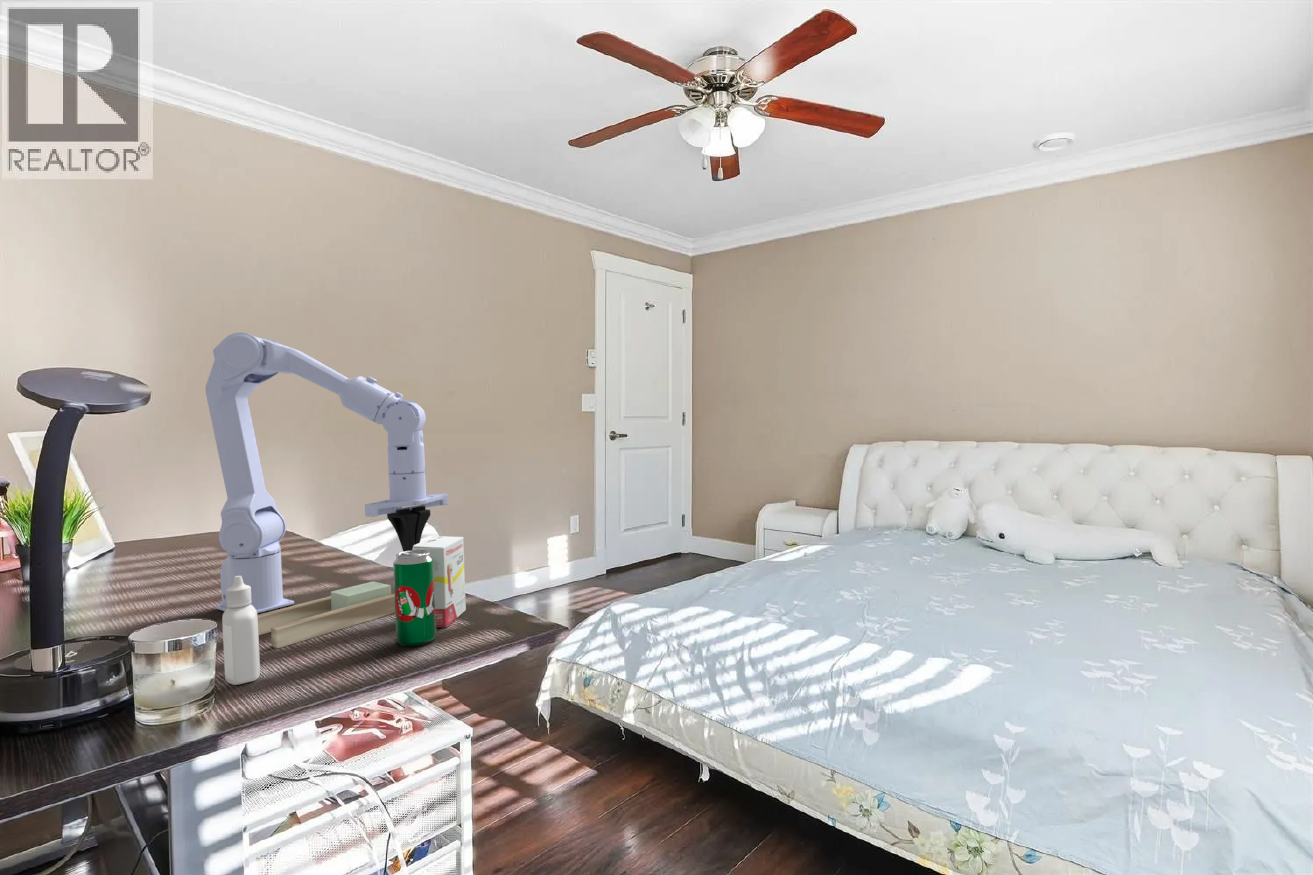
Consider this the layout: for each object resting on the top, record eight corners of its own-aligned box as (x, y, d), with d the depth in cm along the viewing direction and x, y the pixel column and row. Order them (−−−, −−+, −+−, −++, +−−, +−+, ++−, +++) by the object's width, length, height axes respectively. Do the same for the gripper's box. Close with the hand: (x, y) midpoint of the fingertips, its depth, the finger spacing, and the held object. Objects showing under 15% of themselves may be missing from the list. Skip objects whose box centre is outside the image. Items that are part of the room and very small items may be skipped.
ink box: (446, 628, 91) (443, 546, 90) (413, 628, 91) (409, 546, 91) (467, 610, 99) (465, 535, 99) (436, 610, 100) (433, 535, 99)
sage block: (331, 617, 98) (330, 591, 98) (374, 605, 104) (373, 581, 104) (349, 622, 95) (347, 596, 95) (391, 610, 101) (390, 585, 101)
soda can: (426, 632, 89) (423, 547, 89) (443, 640, 86) (439, 552, 85) (390, 641, 86) (386, 553, 85) (406, 651, 82) (402, 559, 82)
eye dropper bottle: (210, 688, 72) (204, 583, 72) (233, 669, 78) (229, 572, 77) (252, 684, 73) (247, 581, 72) (272, 666, 78) (268, 569, 78)
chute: (243, 636, 90) (242, 618, 90) (373, 599, 106) (372, 585, 106) (277, 648, 84) (277, 629, 84) (409, 608, 101) (408, 592, 101)
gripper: (382, 477, 98) (386, 564, 99) (458, 469, 110) (461, 547, 111) (355, 476, 102) (359, 560, 102) (431, 468, 114) (434, 543, 115)
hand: (410, 553), depth 107 cm, fingers closed
